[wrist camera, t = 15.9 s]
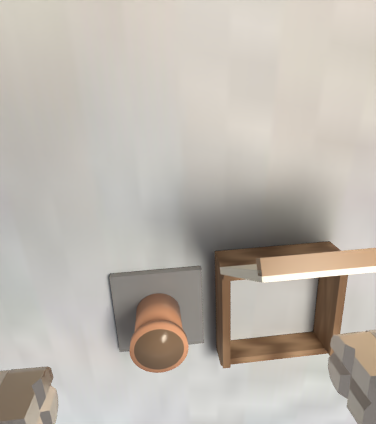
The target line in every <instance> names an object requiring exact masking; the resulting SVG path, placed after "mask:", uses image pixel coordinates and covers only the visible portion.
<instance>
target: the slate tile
mask: <svg viewBox="0 0 376 424" xmlns="http://www.w3.org/2000/svg"><path fill="white" fill-rule="evenodd" d="M109 279H110V286H111V293H112V300H113V307H114V314H115V321H116V328H117V336H118V343H119V350H120V352H124V351H130V341H131V337H132V335H133V334H134V332H135V320H136V309H137V306H138V304H139V303H140V302H141V300H142V299H144V298H145V297H147V296H149V295H152V294H157V293H161V294H167V295H169V296H171V297H173V298H174V299H175V300H176V301H177V302H178V304H179V307H180V313H181V321H182V328H183V330H184V332H185V333H186V336H187V341H188V345H189V344H198V343H204V334H203V304H202V274H201V267H200V266H192V267H181V268H170V269H158V270H147V271H136V272H124V273H113V274H110V277H109Z"/></svg>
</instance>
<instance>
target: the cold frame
mask: <svg viewBox="0 0 376 424" xmlns="http://www.w3.org/2000/svg"><path fill="white" fill-rule="evenodd" d="M334 251H341V250H340V249H338V248H337V247H336V246H335V245H333V244H332V243H331V242H330V241H329V242H317V243H305V244H293V245H282V246H270V247H258V248H246V249H235V250H223V251H215V298H216V348H217V352H218V356H219V360H220V364H221V365H222V366H223V368H230V364H239V363H248V362H256V361H265V360H274V359H283V358H291V357H300V356H309V355H318V354H326V353H328V354H329V355H330V356H331V355H332V354H333V352H334V351H333V349H332V348H331V346H330V343H331V338H332V337H333V335H337V334H340V330H341V322H342V315H343V308H344V301H345V293H346V286H347V279H348V275H338V276H328V277H319V280H318V290H317V300H316V309H315V319H314V329H313V332H305V333H296V334H287V335H277V336H268V337H259V338H250V339H240V340H231V341H230V281H234V280H244V279H242V278H237V277H232V276H227V275H222V274H220V267H228V266H239V265H250V264H256V258H266V257H277V256H289V255H300V254H311V253H323V252H334Z"/></svg>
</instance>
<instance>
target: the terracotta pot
mask: <svg viewBox="0 0 376 424" xmlns="http://www.w3.org/2000/svg"><path fill="white" fill-rule="evenodd" d="M187 353H188V341H187V336H186V333H185V332H184V330H183V328H182V321H181V313H180V307H179V304H178V302H177V301H176V300H175V299H174V298H173V297H171V296H169V295H167V294H161V293H157V294H152V295H149V296H147V297H145V298H144V299H142V300H141V302H140V303H139V304H138V306H137V309H136V320H135V332H134V334H133V335H132V337H131V341H130V356H131V359H132V360H133V362H134V363H135V364H136V365H137V366H138V367H139V368H141V369H143V370H145V371H149V372H156V373H158V372H166V371H169V370H172V369H174V368H176V367H177V366H179V365H180V364H181V363H182V362H183V361H184V359H185V358H186V356H187Z"/></svg>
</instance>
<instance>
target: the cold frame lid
mask: <svg viewBox="0 0 376 424" xmlns="http://www.w3.org/2000/svg"><path fill="white" fill-rule="evenodd" d="M370 272H376V248H368V249H357V250H346V251H334V252H323V253H311V254H300V255H289V256H277V257H266V258H256V264H250V265H239V266H228V267H220V274H222V275H227V276H232V277H237V278H242V279H247V280H252V281H257V282H262V283H264V282H275V281H285V280H296V279H307V278H317V277H328V276H338V275H349V274H360V273H370Z"/></svg>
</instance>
